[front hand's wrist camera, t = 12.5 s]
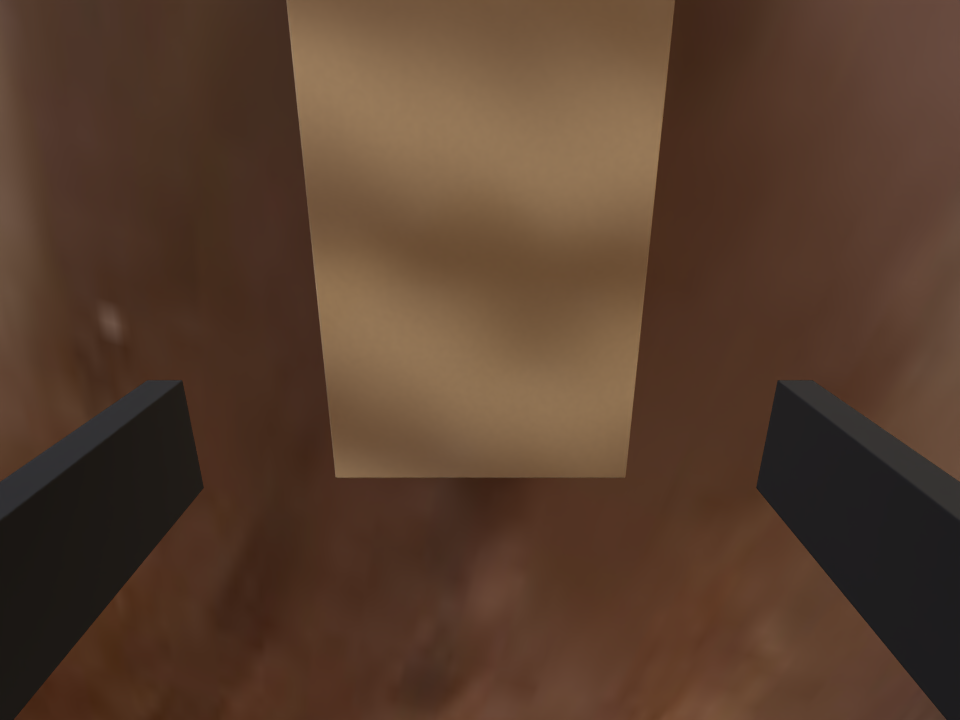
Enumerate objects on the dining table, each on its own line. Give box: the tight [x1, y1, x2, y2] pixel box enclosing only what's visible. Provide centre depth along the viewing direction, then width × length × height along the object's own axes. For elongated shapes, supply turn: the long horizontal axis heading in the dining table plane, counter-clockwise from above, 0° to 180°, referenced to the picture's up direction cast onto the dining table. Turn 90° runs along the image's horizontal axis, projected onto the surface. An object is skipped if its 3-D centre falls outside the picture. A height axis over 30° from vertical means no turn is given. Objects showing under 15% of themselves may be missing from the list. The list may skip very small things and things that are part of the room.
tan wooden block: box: [286, 0, 675, 478], centre depth 21 cm, size 16×10×9 cm, turn 0°
